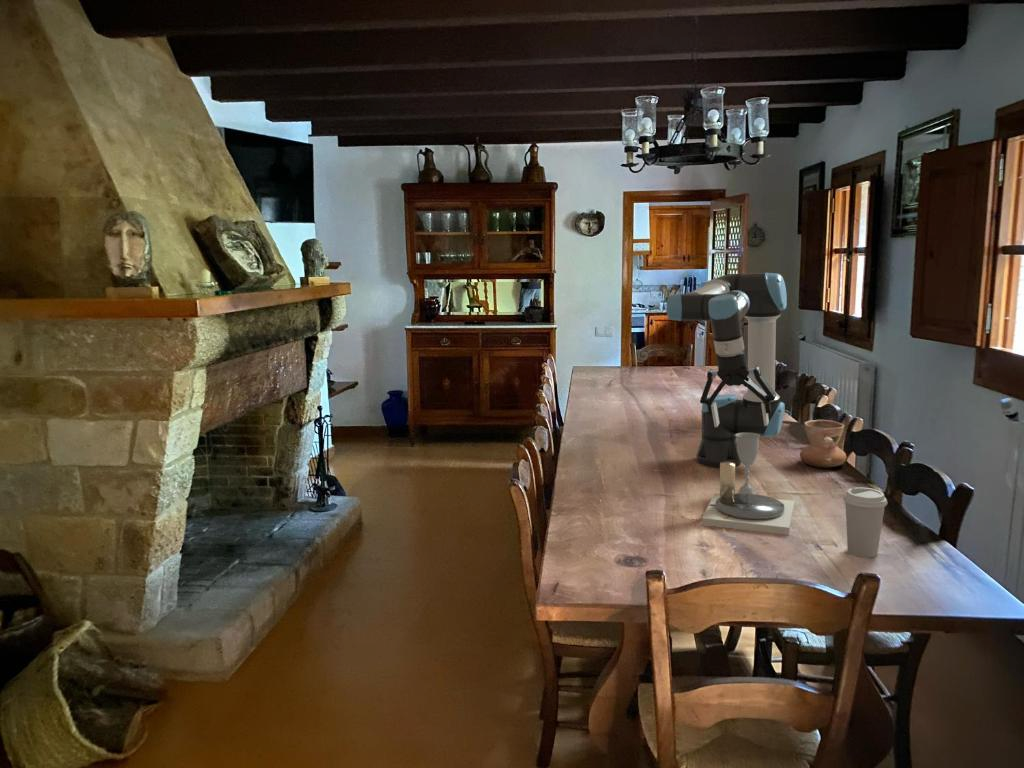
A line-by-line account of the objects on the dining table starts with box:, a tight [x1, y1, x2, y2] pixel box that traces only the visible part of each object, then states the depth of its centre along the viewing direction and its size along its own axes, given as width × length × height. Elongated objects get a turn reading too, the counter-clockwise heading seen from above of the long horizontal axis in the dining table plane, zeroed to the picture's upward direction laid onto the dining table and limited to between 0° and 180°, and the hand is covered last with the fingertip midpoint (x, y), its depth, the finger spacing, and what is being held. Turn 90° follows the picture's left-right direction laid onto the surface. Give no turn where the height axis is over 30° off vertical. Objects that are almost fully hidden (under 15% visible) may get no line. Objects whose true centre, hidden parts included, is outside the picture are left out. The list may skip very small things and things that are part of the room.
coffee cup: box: [842, 486, 888, 559], centre depth 179 cm, size 10×10×15 cm
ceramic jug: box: [799, 419, 847, 469], centre depth 252 cm, size 18×14×14 cm
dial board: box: [701, 492, 796, 536], centre depth 207 cm, size 22×22×2 cm
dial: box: [716, 462, 784, 520], centre depth 206 cm, size 18×18×12 cm
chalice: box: [736, 432, 761, 494], centre depth 225 cm, size 7×7×18 cm
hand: (741, 424), depth 208 cm, fingers open, 13 cm apart
